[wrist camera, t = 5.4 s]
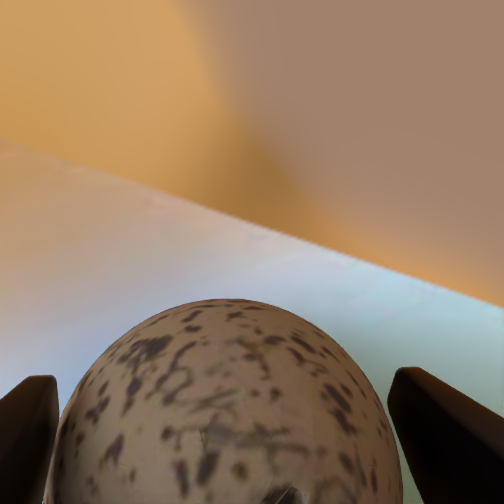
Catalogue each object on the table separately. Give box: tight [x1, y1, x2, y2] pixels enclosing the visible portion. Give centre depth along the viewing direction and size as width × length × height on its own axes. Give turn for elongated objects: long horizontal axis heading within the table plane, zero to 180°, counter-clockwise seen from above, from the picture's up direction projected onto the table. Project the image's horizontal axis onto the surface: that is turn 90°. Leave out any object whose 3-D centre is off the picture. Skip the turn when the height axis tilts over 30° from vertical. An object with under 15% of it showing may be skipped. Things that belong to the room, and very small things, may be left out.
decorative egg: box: [44, 299, 403, 504], centre depth 9 cm, size 7×7×10 cm
